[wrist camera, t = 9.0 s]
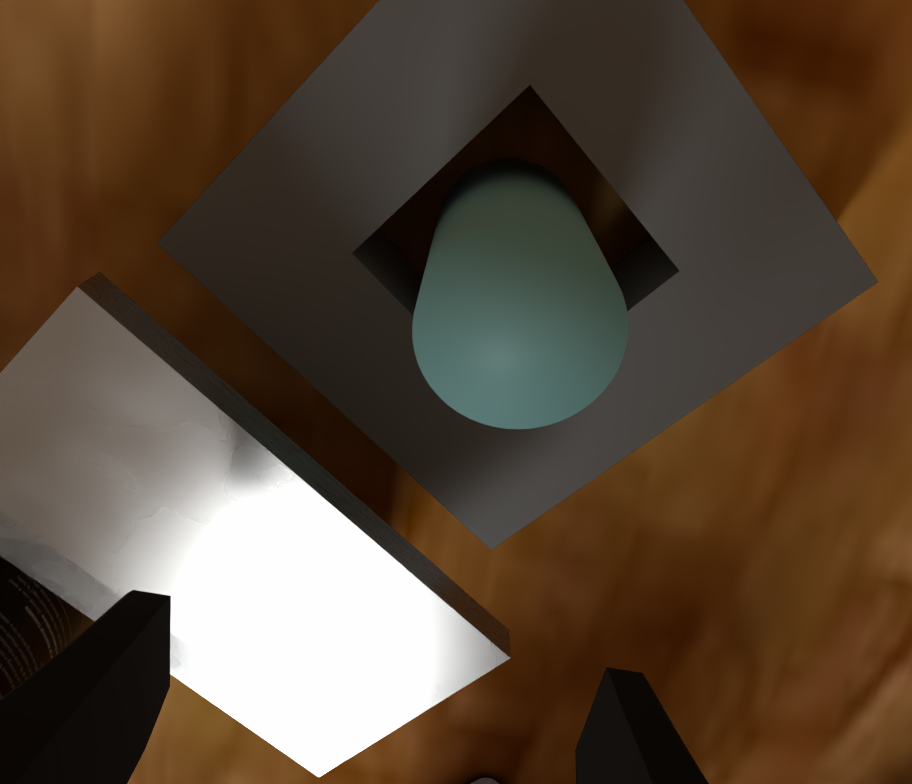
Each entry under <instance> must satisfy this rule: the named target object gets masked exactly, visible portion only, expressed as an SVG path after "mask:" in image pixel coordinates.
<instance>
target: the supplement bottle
mask: <svg viewBox="0 0 912 784" xmlns="http://www.w3.org/2000/svg"><path fill="white" fill-rule="evenodd" d="M94 622H95V621H93V620H92V619H91V618H89V617H88V616H86V615H85V614H83V613H82V612H80V611H79V610H78V609H76V608H75V607H73V606H72V605H70V604H69V603H67V602H66V601H65V600H63V599H62V598H60V597H59V596H57V595H56V594H55V593H53V592H52V591H50V590H49V589H47V588H46V587H44V586H43V585H42V584H40V583H39V582H37V581H36V580H34V579H33V578H32V577H30V576H29V575H27V574H26V573H24V572H23V571H21V570H20V569H19V568H17V567H16V566H14V565H13V564H11V563H10V562H8V561H7V560H6V559H4V558H3V557H1V556H0V699H1V698H3V697H4V696H5V695H7V694H8V693H9V692H11V691H12V690H13V689H14V688H16V687H17V686H18V685H19V684H21V683H22V682H23V681H24V680H26V679H27V678H28V677H29V676H30V675H32V674H33V673H34V672H35V671H37V670H38V669H39V668H40V667H42V666H43V665H44V664H45V663H46V662H48V661H49V660H50V659H51V658H53V657H54V656H55V655H56V654H58V653H59V652H60V651H61V650H62V649H63V648H65V647H66V646H67V645H68V644H69V643H71V642H72V641H73V640H74V639H75V638H76V637H78V636H79V635H80V634H81V633H82V632H83V631H85V630H86V629H87V628H88V627H89V626H90V625H91V624H93V623H94Z"/></svg>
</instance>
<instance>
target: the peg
mask: <svg viewBox="0 0 912 784" xmlns="http://www.w3.org/2000/svg"><path fill="white" fill-rule="evenodd" d="M627 338H628V314H627V308H626V303H625V300H624V297H623V293H622V291H621V289H620V287H619V285H618V283H617V280H616V279H615V277H614V275H613V273H612V271H611V269H610V267H609V265H608V263H607V261H606V259H605V257H604V256H603V254H602V252H601V250H600V248H599V246H598V244H597V242H596V240H595V238H594V236H593V234H592V232H591V231H590V229H589V227H588V225H587V223H586V221H585V219H584V217H583V215H582V213H581V211H580V209H579V208H578V206H577V204H576V202H575V200H574V198H573V196H572V194H571V192H570V191H569V189H568V188H567V186H566V185H565V184H564V183H563V181H562V180H561V179H560V178H559V177H558V176H557V175H555V174H554V173H553V172H552V171H550V170H549V169H547V168H546V167H544V166H542V165H540V164H537V163H535V162H532V161H529V160H524V159H518V158H503V159H496V160H492V161H488V162H485V163H483V164H480V165H478V166H476V167H475V168H473V169H471V170H470V171H468V172H467V173H466V174H464V175H463V176H462V177H461V178H460V179H459V180H458V181H457V182H456V183H455V184H454V185H453V187H452V188H451V189H450V191H449V192H448V194H447V196H446V197H445V199H444V202H443V204H442V206H441V210H440V213H439V217H438V221H437V225H436V229H435V233H434V236H433V240H432V244H431V248H430V252H429V256H428V260H427V264H426V267H425V271H424V275H423V279H422V283H421V287H420V291H419V295H418V299H417V302H416V306H415V310H414V316H413V323H412V339H413V346H414V352H415V355H416V359H417V362H418V365H419V367H420V369H421V372H422V374H423V376H424V377H425V379H426V381H427V382H428V384H429V385H430V387H431V388H432V389H433V390H434V392H435V393H436V394H437V395H438V396H439V397H440V398H441V399H442V400H443V401H444V402H445V403H446V404H447V405H449V406H450V407H451V408H453V409H454V410H455V411H457V412H458V413H460V414H462V415H464V416H466V417H467V418H469V419H472V420H474V421H477V422H479V423H482V424H485V425H489V426H493V427H498V428H505V429H530V428H537V427H542V426H547V425H550V424H553V423H557V422H560V421H562V420H564V419H566V418H568V417H571V416H573V415H574V414H576V413H578V412H579V411H581V410H583V409H584V408H585V407H587V406H588V405H589V404H590V403H592V402H593V401H594V400H595V399H596V398H597V397H598V396H599V395H600V394H601V393H602V392H603V391H604V390H605V388H606V387H607V386H608V385H609V383H610V382H611V381H612V379H613V377H614V376H615V374H616V372H617V371H618V369H619V366H620V364H621V362H622V359H623V356H624V353H625V349H626V346H627Z"/></svg>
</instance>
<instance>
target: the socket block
mask: <svg viewBox="0 0 912 784" xmlns="http://www.w3.org/2000/svg"><path fill="white" fill-rule="evenodd" d="M529 85H531V87H532V88H533V89H534V90H535V92H536V93H537V94H538V95H539V97H540V98H541V99H542V100H543V102H544V103H545V104H546V105H547V106H548V108H549V109H550V110H551V111H552V113H553V114H554V115H555V116H556V118H557V119H558V120H559V121H560V123H561V124H562V125H563V126H564V128H565V129H566V130H567V131H568V133H569V134H570V135H571V136H572V138H573V139H574V140H575V141H576V143H577V144H578V145H579V146H580V148H581V149H582V150H583V151H584V153H585V154H586V155H587V156H588V158H589V159H590V160H591V161H592V163H593V164H594V165H595V166H596V167H597V169H598V170H599V171H600V172H601V174H602V175H603V176H604V177H605V179H606V180H607V181H608V182H609V184H610V185H611V186H612V187H613V189H614V190H615V191H616V192H617V194H618V195H619V196H620V197H621V199H622V200H623V201H624V202H625V204H626V205H627V206H628V207H629V209H630V210H631V211H632V212H633V214H634V215H635V216H636V217H637V219H638V220H639V221H640V222H641V224H642V225H643V226H644V227H645V229H646V230H647V231H648V232H649V233H650V235H651V236H650V237H649V238H648V239H646V240H645V241H644V242H643V243H641V244H640V245H639V246H638V247H636V248H635V249H634V250H633V251H631V252H630V253H629V254H628V255H627V256H625V257H624V258H623V259H622V260H620V261H619V262H618V263H617V264H615V265H614V266H613V267H612V268H610V269H611V271H612V273H613V275H614V277H615V279H616V280H617V283H618V285H619V287H620V289H621V291H622V293H623V297H624V300H625V303H626V308H627V314H628V338H627V346H626V349H625V353H624V356H623V359H622V362H621V364H620V366H619V369H618V371H617V372H616V374H615V376H614V377H613V379H612V381H611V382H610V383H609V385H608V386H607V387H606V388H605V390H604V391H603V392H602V393H601V394H600V395H599V396H598V397H597V398H596V399H595V400H594V401H593V402H592V403H590V404H589V405H588V406H587V407H585V408H584V409H583V410H581V411H579V412H578V413H576V414H574V415H573V416H571V417H568V418H566V419H564V420H562V421H560V422H557V423H553V424H550V425H547V426H542V427H537V428H530V429H505V428H498V427H493V426H489V425H485V424H482V423H479V422H477V421H474V420H472V419H469V418H467V417H466V416H464V415H462V414H460V413H458V412H457V411H455V410H454V409H453V408H451V407H450V406H449V405H447V404H446V403H445V402H444V401H443V400H442V399H441V398H440V397H439V396H438V395H437V394H436V393H435V392H434V390H433V389H432V388H431V387H430V385H429V384H428V382H427V381H426V379H425V377H424V376H423V374H422V372H421V369H420V367H419V365H418V362H417V359H416V355H415V352H414V346H413V339H412V323H413V316H414V310H415V306H416V302H417V299H418V295H419V291H420V287H421V283H422V279H423V274H422V273H421V272H420V271H419V270H418V269H417V268H416V267H415V266H414V265H413V264H412V263H411V262H410V261H409V260H408V259H407V258H406V257H405V256H404V255H403V254H402V252H401V251H400V250H399V249H398V248H397V247H396V246H395V245H394V244H393V243H392V242H391V241H390V240H389V239H388V238H387V237H386V236H385V235H384V234H383V233H382V232H381V230H380V229H379V227H380V226H381V225H382V224H383V223H384V222H385V221H386V220H387V219H388V218H390V217H391V216H392V215H393V214H394V213H395V212H396V211H397V210H398V209H399V208H400V207H401V206H402V205H403V204H404V203H405V202H406V201H407V200H409V199H410V198H411V197H412V196H413V195H414V194H415V193H416V192H417V191H418V190H419V189H420V188H421V187H422V186H423V185H424V184H425V183H427V182H428V181H429V180H430V179H431V178H432V177H433V176H434V175H435V174H436V173H437V172H438V171H439V170H440V169H441V168H442V167H443V166H444V165H446V164H447V163H448V162H449V161H450V160H451V159H452V158H453V157H454V156H455V155H456V154H457V153H458V152H459V151H460V150H461V149H462V148H463V147H465V146H466V145H467V144H468V143H469V142H470V141H471V140H472V139H473V138H474V137H475V136H476V135H477V134H478V133H479V132H480V131H481V130H482V129H484V128H485V127H486V126H487V125H488V124H489V123H490V122H491V121H492V120H493V119H494V118H495V117H496V116H497V115H498V114H499V113H500V112H501V111H503V110H504V109H505V108H506V107H507V106H508V105H509V104H510V103H511V102H512V101H513V100H514V99H515V98H516V97H517V96H518V95H519V94H520V93H522V92H523V91H524V90H525V89H526V88H527V87H528V86H529ZM157 244H158V245H159V246H161V247H162V248H163V249H164V250H165V251H166V252H167V253H168V254H169V255H170V256H171V257H173V258H174V259H175V260H176V261H177V262H178V263H179V264H180V265H181V266H182V267H183V268H185V269H186V270H187V271H188V272H189V273H190V274H191V275H192V276H193V277H194V278H195V279H197V280H198V281H199V282H200V283H201V284H202V285H203V286H204V287H205V288H206V289H207V290H209V291H210V292H211V293H212V294H213V295H214V296H215V297H216V298H217V299H218V300H219V301H221V302H222V303H223V304H224V305H225V306H226V307H227V308H228V309H229V310H230V311H231V312H233V313H234V314H235V315H236V316H237V317H238V318H239V319H240V320H241V321H242V322H243V323H245V324H246V325H247V326H248V327H249V328H250V329H251V330H252V331H253V332H254V333H255V334H257V335H258V336H259V337H260V338H261V339H262V340H263V341H264V342H265V343H266V344H267V345H269V346H270V347H271V348H272V349H273V350H274V351H275V352H276V353H277V354H278V355H279V356H281V357H282V358H283V359H284V360H285V361H286V362H287V363H288V364H289V365H290V366H291V367H293V368H294V369H295V370H296V371H297V372H298V373H299V374H300V375H301V376H302V377H303V378H305V379H306V380H307V381H308V382H309V383H310V384H311V385H312V386H313V387H314V388H315V389H317V390H318V391H319V392H320V393H321V394H322V395H323V396H324V397H325V398H326V399H327V400H329V401H330V402H331V403H332V404H333V405H334V406H335V407H336V408H337V409H338V410H339V411H341V412H342V413H343V414H344V415H345V416H346V417H347V418H348V419H349V420H350V421H351V422H353V423H354V424H355V425H356V426H357V427H358V428H359V429H360V430H361V431H362V432H363V433H365V434H366V435H367V436H368V437H369V438H370V439H371V440H372V441H373V442H374V443H375V444H377V445H378V446H379V447H380V448H381V449H382V450H383V451H384V452H385V453H386V454H387V455H389V456H390V457H391V458H392V459H393V460H394V461H395V462H396V463H397V464H398V465H399V466H401V467H402V468H403V469H404V470H405V471H406V472H407V473H408V474H409V475H410V476H411V477H413V478H414V479H415V480H416V481H417V482H418V483H419V484H420V485H421V486H422V487H423V488H425V489H426V490H427V491H428V492H429V493H430V494H431V495H432V496H433V497H434V498H435V499H436V500H438V501H439V502H440V503H441V504H442V505H443V506H444V507H445V508H446V509H447V510H448V511H450V512H451V513H452V514H453V515H454V516H455V517H456V518H457V519H458V520H459V521H460V522H462V523H463V524H464V525H465V526H466V527H467V528H468V529H469V530H470V531H471V532H472V533H474V534H475V535H476V536H477V537H478V538H479V539H480V540H481V541H482V542H483V543H484V544H486V545H487V546H488V547H489V548H490V549H491V550H492V549H493V548H495V547H496V546H497V545H499V544H500V543H502V542H503V541H505V540H506V539H508V538H509V537H510V536H512V535H513V534H515V533H516V532H518V531H519V530H521V529H522V528H523V527H525V526H526V525H528V524H529V523H531V522H532V521H534V520H535V519H536V518H538V517H539V516H541V515H542V514H544V513H545V512H547V511H548V510H549V509H551V508H552V507H554V506H555V505H557V504H558V503H560V502H561V501H562V500H564V499H565V498H567V497H568V496H570V495H571V494H573V493H574V492H575V491H577V490H578V489H580V488H581V487H583V486H584V485H586V484H587V483H588V482H590V481H591V480H593V479H594V478H596V477H597V476H599V475H600V474H601V473H603V472H604V471H606V470H607V469H609V468H610V467H612V466H613V465H614V464H616V463H617V462H619V461H620V460H622V459H623V458H625V457H626V456H627V455H629V454H630V453H632V452H633V451H635V450H636V449H638V448H639V447H640V446H642V445H643V444H645V443H646V442H648V441H649V440H651V439H652V438H653V437H655V436H656V435H658V434H659V433H661V432H662V431H664V430H665V429H666V428H668V427H669V426H671V425H672V424H674V423H675V422H676V421H678V420H679V419H681V418H682V417H684V416H685V415H687V414H688V413H689V412H691V411H692V410H694V409H695V408H697V407H698V406H700V405H701V404H702V403H704V402H705V401H707V400H708V399H710V398H711V397H713V396H714V395H715V394H717V393H718V392H720V391H721V390H723V389H724V388H726V387H727V386H728V385H730V384H731V383H733V382H734V381H736V380H737V379H739V378H740V377H741V376H743V375H744V374H746V373H747V372H749V371H750V370H752V369H753V368H754V367H756V366H757V365H759V364H760V363H762V362H763V361H765V360H766V359H767V358H769V357H770V356H772V355H773V354H775V353H776V352H778V351H779V350H780V349H782V348H783V347H785V346H786V345H788V344H789V343H791V342H792V341H793V340H795V339H796V338H798V337H799V336H801V335H802V334H804V333H805V332H806V331H808V330H809V329H811V328H812V327H814V326H815V325H817V324H818V323H819V322H821V321H822V320H824V319H825V318H827V317H828V316H830V315H831V314H832V313H834V312H835V311H837V310H838V309H840V308H841V307H843V306H844V305H845V304H847V303H848V302H850V301H851V300H853V299H854V298H856V297H857V296H858V295H860V294H861V293H863V292H864V291H866V290H867V289H868V288H870V287H871V286H873V285H874V284H876V283H877V282H878V281H877V279H876V278H875V276H874V275H873V273H872V272H871V270H870V269H869V268H868V266H867V265H866V263H865V262H864V260H863V259H862V257H861V256H860V255H859V253H858V252H857V250H856V249H855V247H854V246H853V244H852V243H851V242H850V240H849V239H848V237H847V236H846V234H845V233H844V231H843V230H842V228H841V227H840V226H839V224H838V223H837V221H836V220H835V218H834V217H833V215H832V214H831V213H830V211H829V210H828V208H827V207H826V205H825V204H824V202H823V201H822V200H821V198H820V197H819V195H818V194H817V192H816V191H815V189H814V188H813V187H812V185H811V184H810V182H809V181H808V179H807V178H806V176H805V175H804V174H803V172H802V171H801V169H800V168H799V166H798V165H797V163H796V162H795V161H794V159H793V158H792V156H791V155H790V153H789V152H788V150H787V149H786V148H785V146H784V145H783V143H782V142H781V140H780V139H779V137H778V136H777V135H776V133H775V132H774V130H773V129H772V127H771V126H770V124H769V123H768V121H767V120H766V119H765V117H764V116H763V114H762V113H761V111H760V110H759V108H758V107H757V106H756V104H755V103H754V101H753V100H752V98H751V97H750V95H749V94H748V93H747V91H746V90H745V88H744V87H743V85H742V84H741V82H740V81H739V80H738V78H737V77H736V75H735V74H734V72H733V71H732V69H731V68H730V67H729V65H728V64H727V62H726V61H725V59H724V58H723V56H722V55H721V54H720V52H719V51H718V49H717V48H716V46H715V45H714V43H713V42H712V41H711V39H710V38H709V36H708V35H707V33H706V32H705V30H704V29H703V27H702V26H701V25H700V23H699V22H698V20H697V19H696V17H695V16H694V14H693V13H692V12H691V10H690V9H689V7H688V6H687V4H686V3H685V1H684V0H379V1H378V2H377V3H376V4H375V5H374V6H373V7H372V8H371V10H370V11H369V12H368V13H367V14H366V15H365V16H364V17H363V18H362V19H361V20H360V22H359V23H358V24H357V25H356V26H355V27H354V28H353V29H352V30H351V31H350V32H349V34H348V35H347V36H346V37H345V38H344V39H343V40H342V41H341V42H340V43H339V44H338V46H337V47H336V48H335V49H334V50H333V51H332V52H331V53H330V54H329V55H328V56H327V58H326V59H325V60H324V61H323V62H322V63H321V64H320V65H319V66H318V67H317V68H316V70H315V71H314V72H313V73H312V74H311V75H310V76H309V77H308V78H307V79H306V80H305V82H304V83H303V84H302V85H301V86H300V87H299V88H298V89H297V90H296V91H295V92H294V94H293V95H292V96H291V97H290V98H289V99H288V100H287V101H286V102H285V103H284V104H283V106H282V107H281V108H280V109H279V110H278V111H277V112H276V113H275V114H274V115H273V116H272V118H271V119H270V120H269V121H268V122H267V123H266V124H265V125H264V126H263V127H262V128H261V130H260V131H259V132H258V133H257V134H256V135H255V136H254V137H253V138H252V139H251V140H250V142H249V143H248V144H247V145H246V146H245V147H244V148H243V149H242V150H241V151H240V152H239V154H238V155H237V156H236V157H235V158H234V159H233V160H232V161H231V162H230V163H229V165H228V166H227V167H226V168H225V169H224V170H223V171H222V172H221V173H220V174H219V175H218V177H217V178H216V179H215V180H214V181H213V182H212V183H211V184H210V185H209V186H208V187H207V189H206V190H205V191H204V192H203V193H202V194H201V195H200V196H199V197H198V198H197V199H196V201H195V202H194V203H193V204H192V205H191V206H190V207H189V208H188V209H187V210H186V211H185V213H184V214H183V215H182V216H181V217H180V218H179V219H178V220H177V221H176V222H175V223H174V225H173V226H172V227H171V228H170V229H169V230H168V231H167V232H166V233H165V234H164V235H163V237H162V238H161V239H160V240H159V241H158V242H157Z"/></svg>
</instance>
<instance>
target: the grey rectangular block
mask: <svg viewBox="0 0 912 784" xmlns="http://www.w3.org/2000/svg"><path fill="white" fill-rule="evenodd" d="M0 556H1V557H3V558H4V559H6V560H7V561H8V562H10V563H11V564H13V565H14V566H16V567H17V568H19V569H20V570H21V571H23V572H24V573H26V574H27V575H29V576H30V577H32V578H33V579H34V580H36V581H37V582H39V583H40V584H42V585H43V586H44V587H46V588H47V589H49V590H50V591H52V592H53V593H55V594H56V595H57V596H59V597H60V598H62V599H63V600H65V601H66V602H67V603H69V604H70V605H72V606H73V607H75V608H76V609H78V610H79V611H80V612H82V613H83V614H85V615H86V616H88V617H89V618H91V619H92V620H93V621H96V620H97V619H98V618H99V617H101V616H102V615H103V614H104V613H105V612H106V611H107V610H108V609H110V608H111V607H112V606H113V605H114V604H115V603H116V602H118V601H119V600H120V599H121V598H122V597H123V596H124V595H125V594H127V593H128V592H130V591H132V590H138V591H144V592H150V593H156V594H162V595H169V596H171V621H170V674H171V675H173V676H174V677H175V678H177V679H178V680H180V681H181V682H183V683H184V684H185V685H187V686H188V687H190V688H191V689H193V690H194V691H196V692H197V693H198V694H200V695H201V696H203V697H204V698H206V699H207V700H209V701H210V702H211V703H213V704H214V705H216V706H217V707H219V708H220V709H221V710H223V711H224V712H226V713H227V714H229V715H230V716H232V717H233V718H234V719H236V720H237V721H239V722H240V723H242V724H243V725H244V726H246V727H247V728H249V729H250V730H252V731H253V732H255V733H256V734H257V735H259V736H260V737H262V738H263V739H265V740H266V741H267V742H269V743H270V744H272V745H273V746H275V747H276V748H278V749H279V750H280V751H282V752H283V753H285V754H286V755H288V756H289V757H291V758H292V759H293V760H295V761H296V762H298V763H299V764H301V765H302V766H303V767H305V768H306V769H308V770H309V771H311V772H312V773H314V774H315V775H316V776H318V777H320V776H322V775H323V774H325V773H326V772H328V771H330V770H331V769H333V768H335V767H336V766H338V765H339V764H341V763H343V762H344V761H346V760H347V759H349V758H351V757H352V756H354V755H355V754H357V753H359V752H360V751H362V750H363V749H365V748H367V747H368V746H370V745H372V744H373V743H375V742H376V741H378V740H380V739H381V738H383V737H384V736H386V735H388V734H389V733H391V732H392V731H394V730H396V729H397V728H399V727H401V726H402V725H404V724H405V723H407V722H409V721H410V720H412V719H413V718H415V717H417V716H418V715H420V714H421V713H423V712H425V711H426V710H428V709H429V708H431V707H433V706H434V705H436V704H438V703H439V702H441V701H442V700H444V699H446V698H447V697H449V696H450V695H452V694H454V693H455V692H457V691H458V690H460V689H462V688H463V687H465V686H466V685H468V684H470V683H471V682H473V681H475V680H476V679H478V678H479V677H481V676H483V675H484V674H486V673H487V672H489V671H491V670H492V669H494V668H495V667H497V666H499V665H500V664H502V663H504V662H505V661H507V660H508V659H510V635H509V630H508V629H507V628H506V627H505V626H504V625H503V624H501V623H500V622H499V621H498V620H497V619H496V618H495V617H494V616H492V615H491V614H490V613H489V612H488V611H487V610H486V609H484V608H483V607H482V606H481V605H480V604H479V603H478V602H476V601H475V600H474V599H473V598H472V597H471V596H470V595H468V594H467V593H466V592H465V591H464V590H463V589H462V588H460V587H459V586H458V585H457V584H456V583H455V582H454V581H452V580H451V579H450V578H449V577H448V576H447V575H446V574H444V573H443V572H442V571H441V570H440V569H439V568H438V567H436V566H435V565H434V564H433V563H432V562H431V561H430V560H428V559H427V558H426V557H425V556H424V555H423V554H422V553H420V552H419V551H418V550H417V549H416V548H415V547H414V546H412V545H411V544H410V543H409V542H408V541H407V540H406V539H404V538H403V537H402V536H401V535H400V534H399V533H398V532H396V531H395V530H394V529H393V528H392V527H391V526H390V525H388V524H387V523H386V522H385V521H384V520H383V519H382V518H380V517H379V516H378V515H377V514H376V513H375V512H374V511H372V510H371V509H370V508H369V507H368V506H367V505H366V504H364V503H363V502H362V501H361V500H360V499H359V498H358V497H356V496H355V495H354V494H353V493H352V492H351V491H350V490H348V489H347V488H346V487H345V486H344V485H343V484H342V483H340V482H339V481H338V480H337V479H336V478H335V477H334V476H332V475H331V474H330V473H329V472H328V471H327V470H326V469H324V468H323V467H322V466H321V465H320V464H319V463H318V462H316V461H315V460H314V459H313V458H312V457H311V456H310V455H308V454H307V453H306V452H305V451H304V450H303V449H302V448H300V447H299V446H298V445H297V444H296V443H295V442H294V441H292V440H291V439H290V438H289V437H288V436H287V435H286V434H284V433H283V432H282V431H281V430H280V429H279V428H278V427H276V426H275V425H274V424H273V423H272V422H271V421H270V420H268V419H267V418H266V417H265V416H264V415H263V414H262V413H260V412H259V411H258V410H257V409H256V408H255V407H254V406H252V405H251V404H250V403H249V402H248V401H247V400H246V399H245V398H243V397H242V396H241V395H240V394H239V393H238V392H237V391H235V390H234V389H233V388H232V387H231V386H230V385H229V384H227V383H226V382H225V381H224V380H223V379H222V378H221V377H219V376H218V375H217V374H216V373H215V372H214V371H213V370H211V369H210V368H209V367H208V366H207V365H206V364H205V363H203V362H202V361H201V360H200V359H199V358H198V357H197V356H195V355H194V354H193V353H192V352H191V351H190V350H189V349H187V348H186V347H185V346H184V345H183V344H182V343H181V342H179V341H178V340H177V339H176V338H175V337H174V336H173V335H171V334H170V333H169V332H168V331H167V330H166V329H165V328H163V327H162V326H161V325H160V324H159V323H158V322H157V321H155V320H154V319H153V318H152V317H151V316H150V315H149V314H147V313H146V312H145V311H144V310H143V309H142V308H141V307H139V306H138V305H137V304H136V303H135V302H134V301H133V300H131V299H130V298H129V297H128V296H127V295H126V294H125V293H123V292H122V291H121V290H120V289H119V288H118V287H117V286H115V285H114V284H113V283H112V282H111V281H110V280H109V279H107V278H106V277H105V276H104V275H103V274H102V273H101V272H99V273H98V274H96V275H94V276H93V277H91V278H90V279H88V280H87V281H85V282H83V283H82V284H80V285H79V286H77V287H76V288H75V289H74V290H73V292H72V293H71V294H70V295H69V296H68V297H67V298H66V299H65V301H64V302H63V303H62V304H61V305H60V306H59V307H58V309H57V310H56V311H55V312H54V313H53V314H52V315H51V316H50V318H49V319H48V320H47V321H46V322H45V323H44V324H43V325H42V327H41V328H40V329H39V330H38V331H37V332H36V333H35V334H34V336H33V337H32V338H31V339H30V340H29V341H28V342H27V343H26V345H25V346H24V347H23V348H22V349H21V350H20V351H19V352H18V354H17V355H16V356H15V357H14V358H13V359H12V360H11V361H10V363H9V364H8V365H7V366H6V367H5V368H4V369H3V370H2V372H1V373H0Z"/></svg>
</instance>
